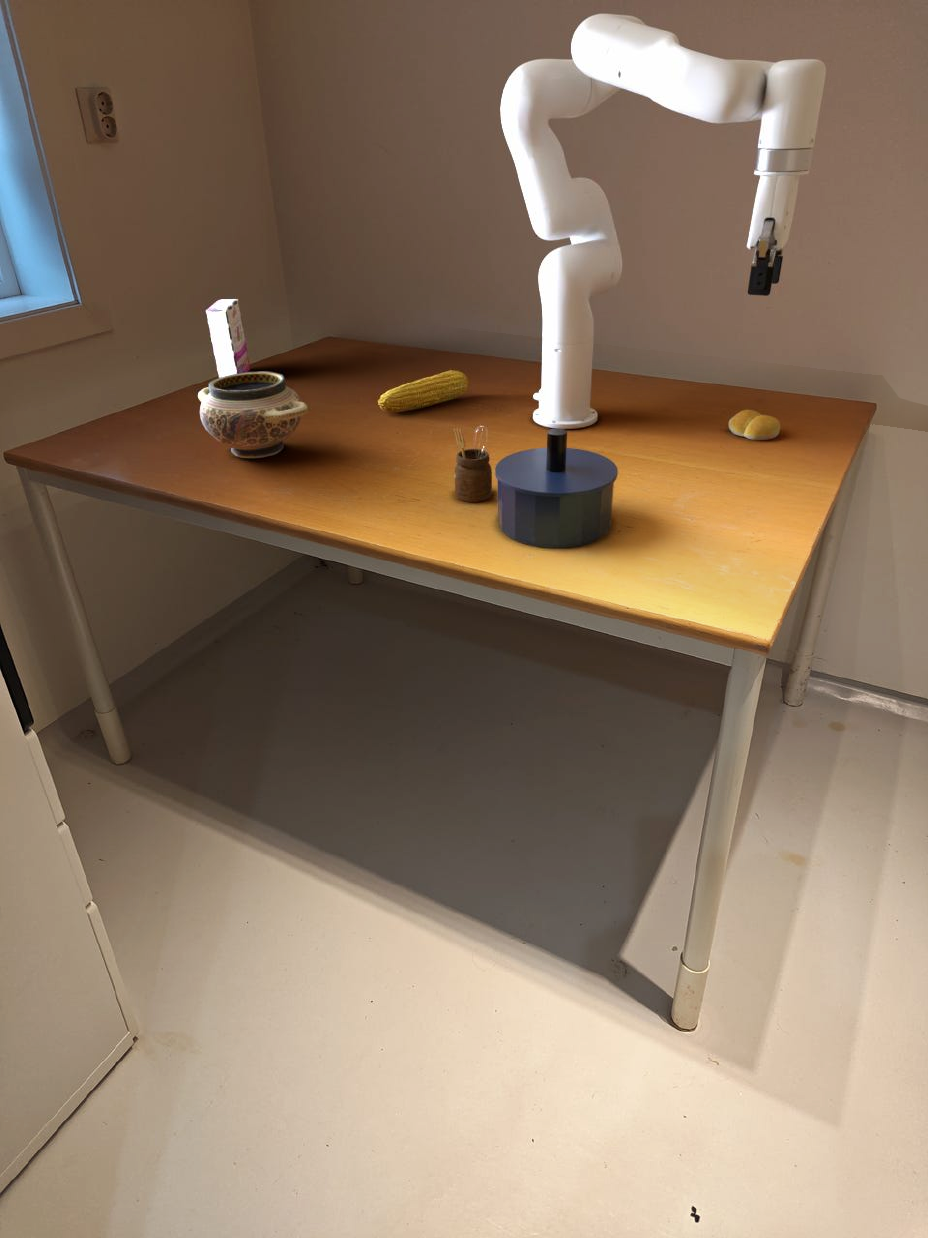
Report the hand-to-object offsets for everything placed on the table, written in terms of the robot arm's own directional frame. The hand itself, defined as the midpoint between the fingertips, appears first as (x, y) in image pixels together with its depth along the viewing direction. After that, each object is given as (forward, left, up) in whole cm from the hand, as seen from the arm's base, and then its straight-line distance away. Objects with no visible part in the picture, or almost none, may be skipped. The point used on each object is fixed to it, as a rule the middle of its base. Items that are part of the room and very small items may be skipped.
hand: (763, 288), depth 129 cm
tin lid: (+1, -40, -20) cm, 45 cm away
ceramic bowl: (-55, -66, -28) cm, 90 cm away
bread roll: (-8, +13, -28) cm, 32 cm away
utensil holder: (-14, -45, -28) cm, 55 cm away
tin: (+1, -40, -28) cm, 49 cm away
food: (-59, -28, -28) cm, 71 cm away
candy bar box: (-105, -53, -28) cm, 121 cm away
